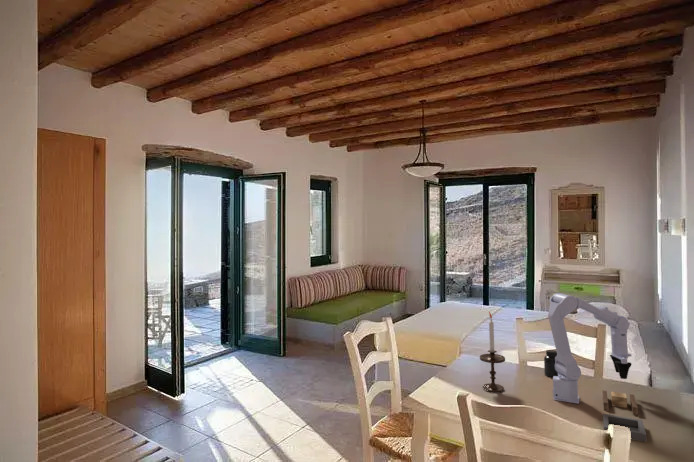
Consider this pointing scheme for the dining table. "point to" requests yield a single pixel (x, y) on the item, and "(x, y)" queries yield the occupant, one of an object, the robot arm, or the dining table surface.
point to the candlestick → (492, 361)
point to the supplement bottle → (550, 363)
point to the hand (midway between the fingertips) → (621, 375)
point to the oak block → (619, 399)
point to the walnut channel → (632, 402)
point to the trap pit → (627, 425)
